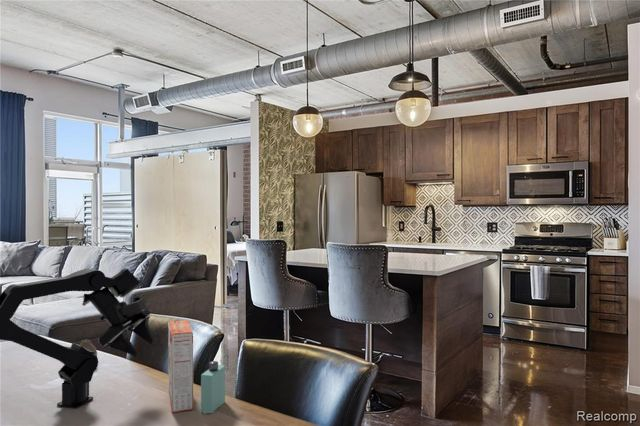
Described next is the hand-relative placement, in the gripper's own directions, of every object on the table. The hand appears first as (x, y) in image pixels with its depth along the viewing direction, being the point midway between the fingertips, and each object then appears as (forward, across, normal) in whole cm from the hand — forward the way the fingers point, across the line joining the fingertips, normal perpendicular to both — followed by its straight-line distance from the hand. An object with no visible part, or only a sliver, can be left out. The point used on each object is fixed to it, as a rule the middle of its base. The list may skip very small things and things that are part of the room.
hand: (145, 348), depth 133 cm
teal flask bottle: (+24, -5, -8) cm, 26 cm away
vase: (-9, +19, +33) cm, 39 cm away
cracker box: (+18, -3, 0) cm, 18 cm away
